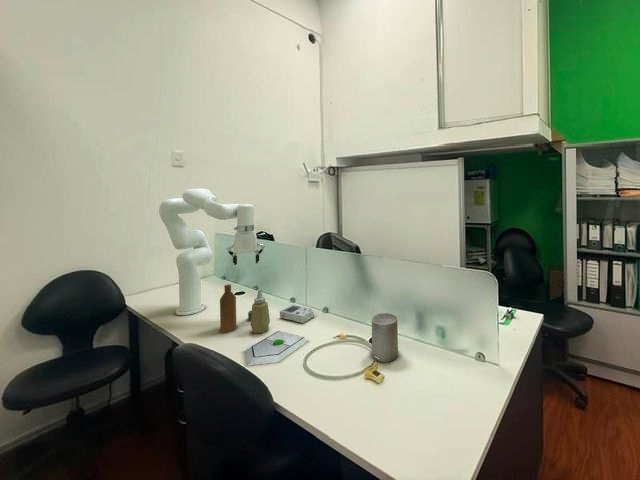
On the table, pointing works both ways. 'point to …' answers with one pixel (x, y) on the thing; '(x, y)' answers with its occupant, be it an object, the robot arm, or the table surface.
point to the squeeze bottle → (260, 314)
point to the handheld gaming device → (297, 313)
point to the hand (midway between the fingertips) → (246, 263)
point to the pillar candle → (384, 337)
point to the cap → (249, 315)
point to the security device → (273, 348)
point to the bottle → (227, 310)
